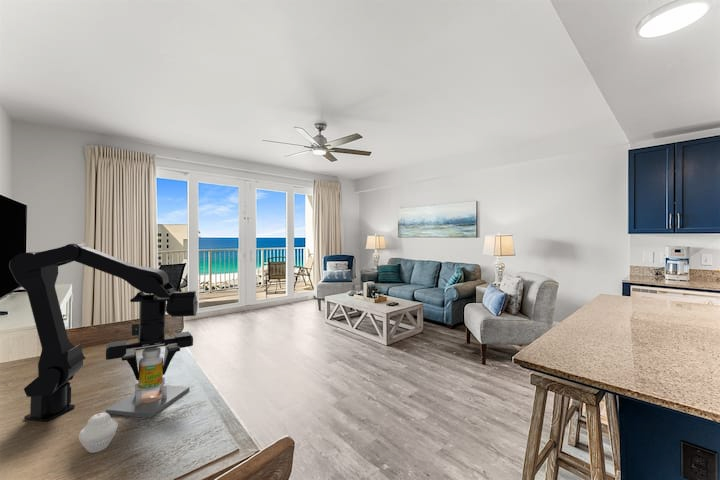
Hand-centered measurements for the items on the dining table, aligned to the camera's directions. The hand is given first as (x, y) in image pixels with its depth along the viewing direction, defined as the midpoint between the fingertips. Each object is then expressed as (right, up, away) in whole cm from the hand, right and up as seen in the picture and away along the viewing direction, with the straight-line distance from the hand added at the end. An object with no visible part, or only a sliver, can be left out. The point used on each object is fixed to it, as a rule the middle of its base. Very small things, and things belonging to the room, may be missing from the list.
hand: (150, 376), depth 82 cm
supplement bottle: (0, -3, 0) cm, 3 cm away
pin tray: (0, -6, 0) cm, 6 cm away
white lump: (+2, -7, -18) cm, 20 cm away
